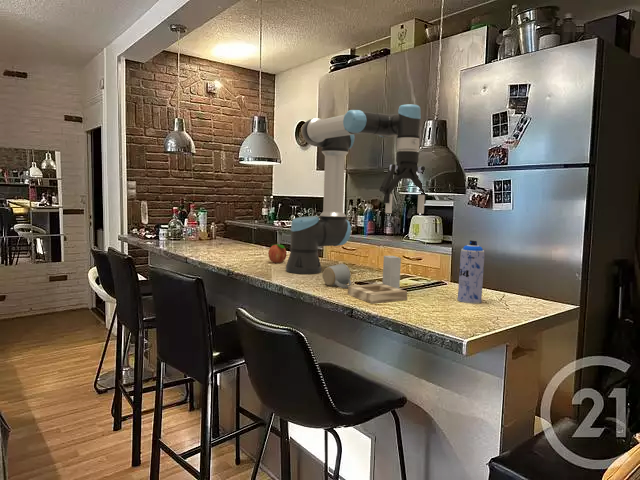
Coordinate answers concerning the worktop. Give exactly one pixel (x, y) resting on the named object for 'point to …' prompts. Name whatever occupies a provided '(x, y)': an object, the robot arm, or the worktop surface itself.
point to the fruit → (277, 253)
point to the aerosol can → (471, 273)
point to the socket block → (377, 293)
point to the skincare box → (391, 271)
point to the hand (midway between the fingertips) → (404, 213)
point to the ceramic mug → (337, 276)
